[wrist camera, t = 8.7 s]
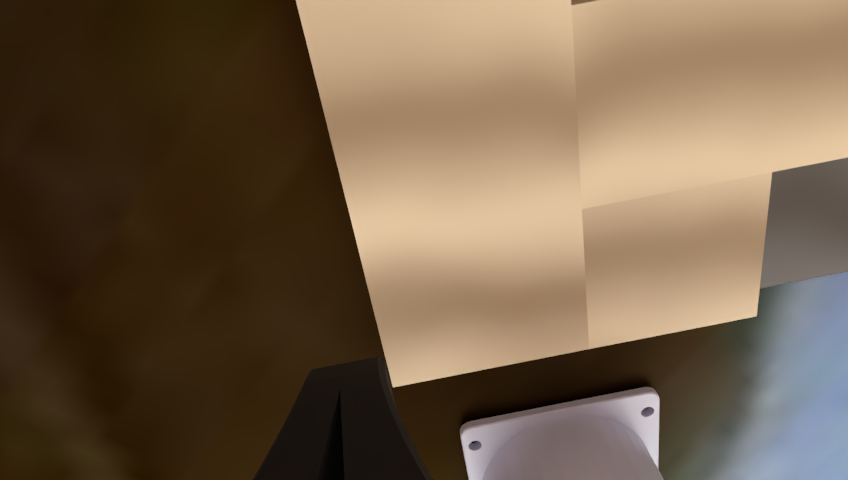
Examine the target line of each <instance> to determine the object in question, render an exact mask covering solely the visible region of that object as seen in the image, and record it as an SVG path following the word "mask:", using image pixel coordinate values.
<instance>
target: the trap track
mask: <svg viewBox="0 0 848 480" xmlns="http://www.w3.org/2000/svg"><path fill="white" fill-rule="evenodd" d="M296 3H297V7H298V11H299V15H300V19H301V23H302V27H303V31H304V35H305V39H306V43H307V47H308V51H309V55H310V59H311V63H312V67H313V71H314V75H315V79H316V83H317V87H318V91H319V95H320V99H321V103H322V107H323V111H324V115H325V119H326V123H327V127H328V131H329V135H330V139H331V143H332V147H333V151H334V155H335V159H336V163H337V167H338V171H339V175H340V179H341V183H342V187H343V191H344V195H345V199H346V202H347V206H348V210H349V214H350V218H351V222H352V226H353V230H354V234H355V238H356V242H357V246H358V250H359V254H360V258H361V262H362V266H363V270H364V274H365V278H366V282H367V286H368V290H369V294H370V298H371V302H372V306H373V310H374V314H375V318H376V322H377V326H378V330H379V334H380V338H381V342H382V346H383V350H384V354H385V358H386V362H387V366H388V370H389V374H390V378H391V382H392V386H393V387H398V386H403V385H408V384H413V383H418V382H424V381H429V380H434V379H439V378H444V377H449V376H454V375H459V374H464V373H470V372H475V371H480V370H485V369H490V368H495V367H500V366H505V365H510V364H516V363H521V362H526V361H531V360H536V359H541V358H546V357H551V356H556V355H562V354H567V353H572V352H577V351H582V350H587V349H592V348H597V347H602V346H608V345H613V344H618V343H623V342H628V341H633V340H638V339H643V338H649V337H654V336H659V335H664V334H669V333H674V332H679V331H684V330H689V329H695V328H700V327H705V326H710V325H715V324H720V323H725V322H730V321H735V320H741V319H746V318H751V317H756V316H757V308H758V299H759V290H760V288H765V287H770V286H775V285H780V284H786V283H791V282H796V281H801V280H806V279H811V278H816V277H821V276H826V275H832V274H837V273H842V272H847V271H848V0H296Z"/></svg>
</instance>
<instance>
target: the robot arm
mask: <svg viewBox="0 0 848 480" xmlns="http://www.w3.org/2000/svg"><path fill="white" fill-rule="evenodd" d="M659 405H660V399H659V396H658V394H657V392H656V391H655V390H654V389H653V388H651V387H642V388H637V389H632V390H627V391H621V392H616V393H611V394H606V395H601V396H596V397H591V398H586V399H581V400H576V401H570V402H565V403H560V404H555V405H550V406H545V407H540V408H535V409H530V410H525V411H519V412H514V413H509V414H504V415H499V416H494V417H489V418H484V419H479V420H474V421H469V422H466V423H465V424H463V425H462V427H461V428H460V437H461V442H462V447H463V452H464V458H465V463H466V468H467V473H468V478H469V480H664V479H663V477H662V475H661V473H660V472H659V470H658V459H659ZM646 407H648V408H647V409H645V410H643V409H644V408H646ZM473 441H478V442H476V443H471V442H473ZM253 480H433V478H432V477H431V475H430V473H429V472H428V470H427V468H426V467H425V465H424V463H423V461H422V460H421V458H420V456H419V454H418V452H417V451H416V449H415V447H414V445H413V443H412V441H411V439H410V437H409V435H408V433H407V431H406V429H405V427H404V424H403V422H402V420H401V418H400V416H399V414H398V411H397V409H396V405H395V401H394V397H393V392H392V388H391V384H390V380H389V376H388V372H387V368H386V364H385V361H384V360H382V359H380V358H378V357H376V358H371V359H366V360H360V361H355V362H350V363H344V364H339V365H334V366H329V367H323V368H318V369H313V370H312V371H311V372H310V373H309V375H308V376H307V378H306V380H305V383H304V385H303V387H302V389H301V391H300V393H299V395H298V397H297V399H296V402H295V404H294V406H293V408H292V410H291V412H290V414H289V416H288V417H287V419H286V421H285V423H284V425H283V427H282V429H281V431H280V433H279V435H278V436H277V438H276V440H275V442H274V444H273V445H272V447H271V449H270V451H269V453H268V454H267V456H266V458H265V460H264V462H263V463H262V465H261V467H260V468H259V470H258V472H257V473H256V475H255V477H254V478H253Z"/></svg>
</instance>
